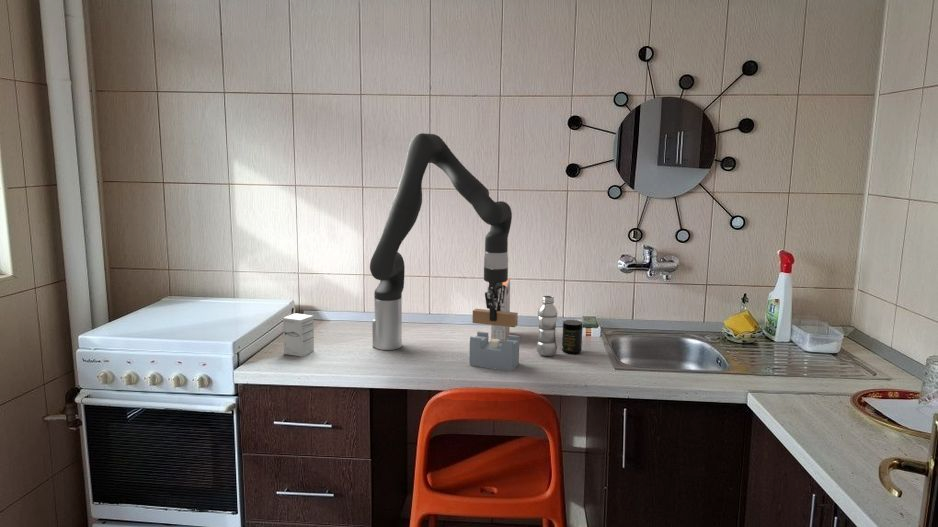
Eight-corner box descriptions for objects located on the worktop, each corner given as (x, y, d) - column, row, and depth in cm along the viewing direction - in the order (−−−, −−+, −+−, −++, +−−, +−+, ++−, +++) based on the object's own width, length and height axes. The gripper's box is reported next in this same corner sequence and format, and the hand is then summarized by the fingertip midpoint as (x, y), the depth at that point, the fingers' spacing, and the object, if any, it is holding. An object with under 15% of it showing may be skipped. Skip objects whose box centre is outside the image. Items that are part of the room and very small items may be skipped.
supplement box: (283, 354, 227) (281, 317, 225) (296, 348, 234) (295, 312, 232) (301, 357, 224) (300, 319, 222) (315, 351, 231) (314, 314, 229)
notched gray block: (469, 365, 218) (469, 337, 217) (478, 358, 226) (478, 331, 224) (511, 371, 214) (512, 342, 212) (518, 363, 221) (519, 335, 219)
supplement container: (583, 355, 230) (584, 325, 229) (562, 354, 231) (563, 324, 229) (580, 349, 237) (581, 320, 235) (560, 348, 237) (561, 319, 235)
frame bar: (472, 322, 218) (472, 310, 218) (475, 320, 221) (475, 308, 220) (514, 327, 213) (514, 314, 213) (517, 325, 216) (517, 312, 216)
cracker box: (493, 332, 257) (494, 277, 254) (509, 332, 257) (511, 277, 253) (489, 342, 244) (490, 284, 240) (506, 343, 243) (508, 285, 239)
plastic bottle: (555, 358, 226) (557, 299, 223) (535, 357, 227) (537, 298, 224) (557, 353, 232) (559, 295, 229) (537, 351, 234) (539, 294, 230)
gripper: (492, 261, 222) (491, 313, 225) (476, 268, 209) (476, 323, 212) (514, 263, 219) (513, 315, 222) (500, 270, 206) (499, 326, 209)
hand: (495, 319), depth 217 cm, fingers closed on frame bar, 3 cm apart
